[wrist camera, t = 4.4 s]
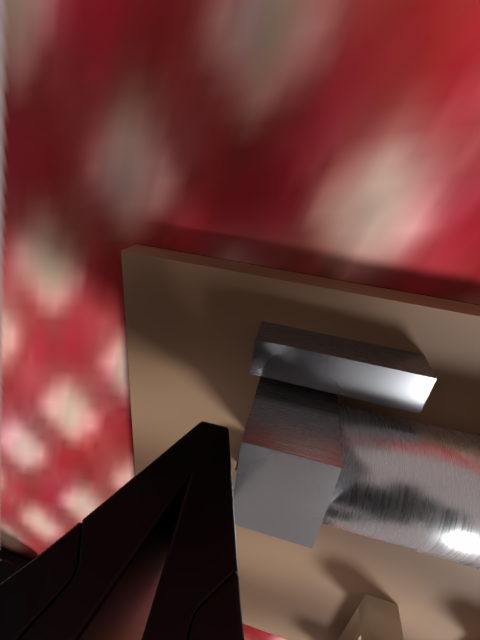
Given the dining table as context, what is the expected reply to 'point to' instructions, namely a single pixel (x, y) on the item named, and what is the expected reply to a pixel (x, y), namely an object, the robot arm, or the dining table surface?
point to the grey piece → (356, 475)
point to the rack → (374, 621)
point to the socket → (342, 367)
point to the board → (352, 323)
